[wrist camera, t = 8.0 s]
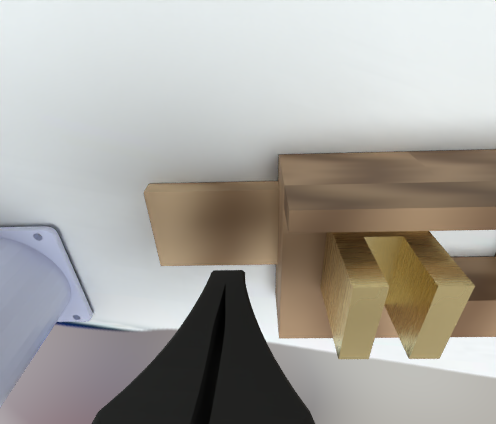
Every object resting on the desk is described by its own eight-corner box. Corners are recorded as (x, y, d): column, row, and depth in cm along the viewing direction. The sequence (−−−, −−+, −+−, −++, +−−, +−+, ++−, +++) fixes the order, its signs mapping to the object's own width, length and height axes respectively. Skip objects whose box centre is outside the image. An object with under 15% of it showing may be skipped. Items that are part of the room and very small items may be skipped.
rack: (173, 294, 21) (151, 371, 17) (143, 157, 16) (97, 214, 11) (499, 290, 21) (572, 369, 16) (579, 147, 15) (722, 202, 11)
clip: (320, 286, 16) (338, 359, 12) (328, 221, 14) (353, 287, 10) (399, 285, 16) (439, 358, 12) (419, 219, 14) (475, 285, 10)
